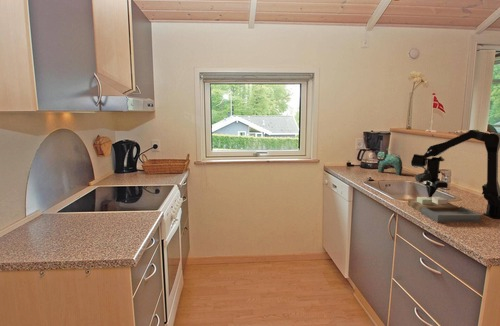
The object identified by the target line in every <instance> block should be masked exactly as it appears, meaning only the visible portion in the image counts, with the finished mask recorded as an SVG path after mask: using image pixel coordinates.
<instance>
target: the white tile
mask: <svg viewBox="0 0 500 326" xmlns="http://www.w3.org/2000/svg"><path fill="white" fill-rule="evenodd" d="M431 199H432V202H434V203H436V204H447V202H448V203H449V201H448V199H447V198H444V197H442V196H432V197H431Z"/></svg>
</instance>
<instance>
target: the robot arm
mask: <svg viewBox="0 0 500 326" xmlns="http://www.w3.org/2000/svg"><path fill="white" fill-rule="evenodd" d="M472 139H473V140H477V141H480V142H483V143H484V147H485V149H486V152H487V154H486V155H487V157H486V158H487V159H486V160H487V164H486V166H487V167H486V169H487V170H486V171H487V172H486V177H487V178H486V183H484V184H483V185H482V186H481V188H482V193H481V195H483V198H484V199H485V200H486V201H487V205H486V211H485V212H484V213H483V214H482V215H484V216H486V217H489V218H491V219H500V184H499V181H498V180H499V178H498V177H499V175H498V174H499V151H500V134H499V133H498V132H491V133H489V132H484V131H479V130H476V129H470V130H468V131H466V132H465V133H462V134H460V135H457V136H455V137H453V138H451V139H449V140H447V141H445V142H441V143H436V144H433V145H430V146H428V148H427V149H426V152H425V153H424V154H418V153H414V154H413V156H412V158H411V161H410V163H411V167H417V168H425V167H426V169H424V172H422V173H418V174H415V175H414V179H415V182H417V183H419V184H420V183H421V184H423V185H424V186H425V188H426V191H427V195H428V198H432V197H433V196H434V194H435V192H436V191H437V190H438V189H447V188H448V187H449V184H448V182H447V181H443V180H440V179H441V178H439V175H440V174H441V173H442V171H440V164H441V162H444V161H445V159H444V158H443V157H442V154H443V153H445V152H446V151H448V150H449V149H451V148H453V147H456V146H457V145H460V144H462V143H464V142H467V141H469V140H472ZM440 155H441V156H440ZM437 156H439V157H437Z"/></svg>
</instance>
